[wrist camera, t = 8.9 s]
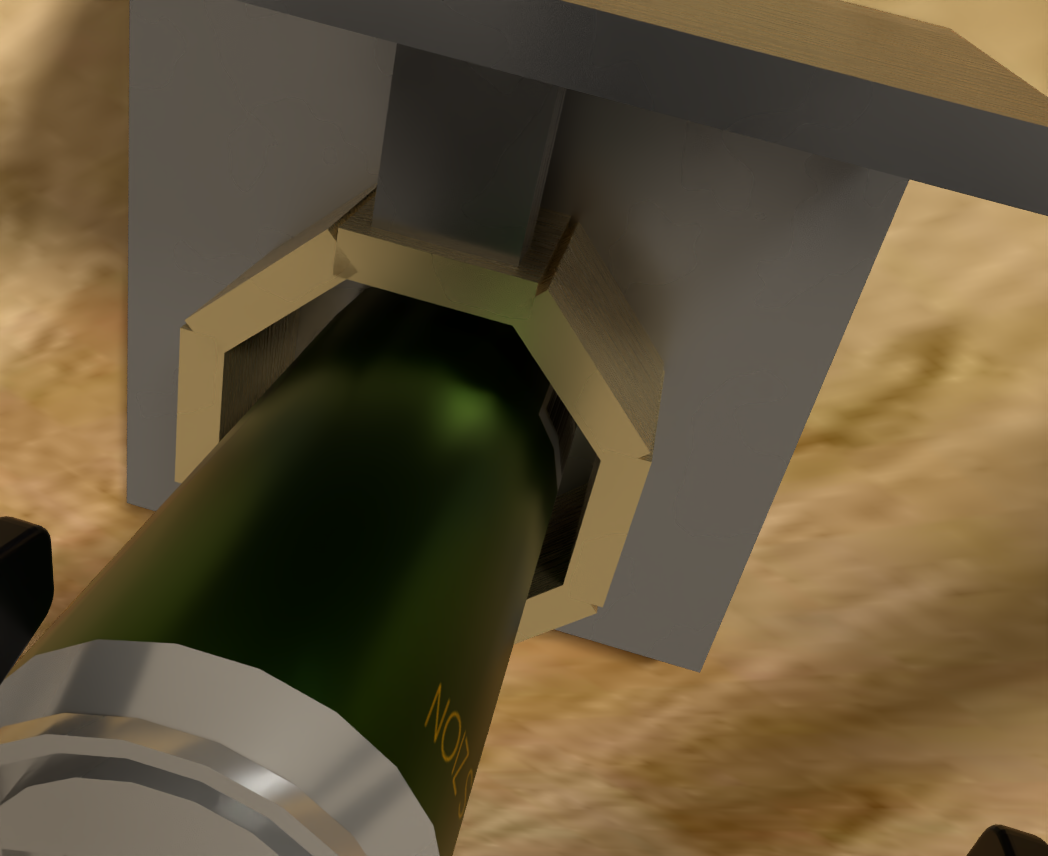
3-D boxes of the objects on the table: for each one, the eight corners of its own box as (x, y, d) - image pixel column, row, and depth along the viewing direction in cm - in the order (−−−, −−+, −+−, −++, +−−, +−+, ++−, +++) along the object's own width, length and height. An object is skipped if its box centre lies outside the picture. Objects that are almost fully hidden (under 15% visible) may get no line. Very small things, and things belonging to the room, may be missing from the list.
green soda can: (547, 236, 18) (303, 697, 8) (609, 481, 21) (481, 1084, 10) (291, 286, 20) (-194, 728, 9) (374, 509, 22) (59, 1061, 12)
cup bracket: (949, 28, 17) (1114, 144, 9) (701, 629, 24) (686, 959, 17) (175, -171, 18) (-226, -205, 10) (158, 470, 25) (-84, 718, 17)
